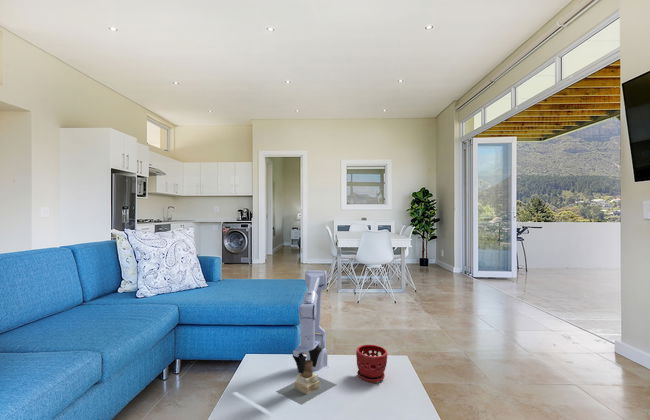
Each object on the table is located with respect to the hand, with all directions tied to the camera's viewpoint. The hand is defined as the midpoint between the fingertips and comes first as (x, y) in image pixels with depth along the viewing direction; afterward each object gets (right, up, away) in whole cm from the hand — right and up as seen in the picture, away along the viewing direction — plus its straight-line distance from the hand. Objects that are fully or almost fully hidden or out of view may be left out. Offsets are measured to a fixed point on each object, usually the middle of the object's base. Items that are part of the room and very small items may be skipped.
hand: (307, 369), depth 133 cm
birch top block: (0, -5, 0) cm, 5 cm away
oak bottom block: (0, -7, 0) cm, 7 cm away
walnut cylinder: (0, -2, 0) cm, 2 cm away
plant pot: (+27, -9, +11) cm, 30 cm away
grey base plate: (0, -8, 0) cm, 8 cm away
